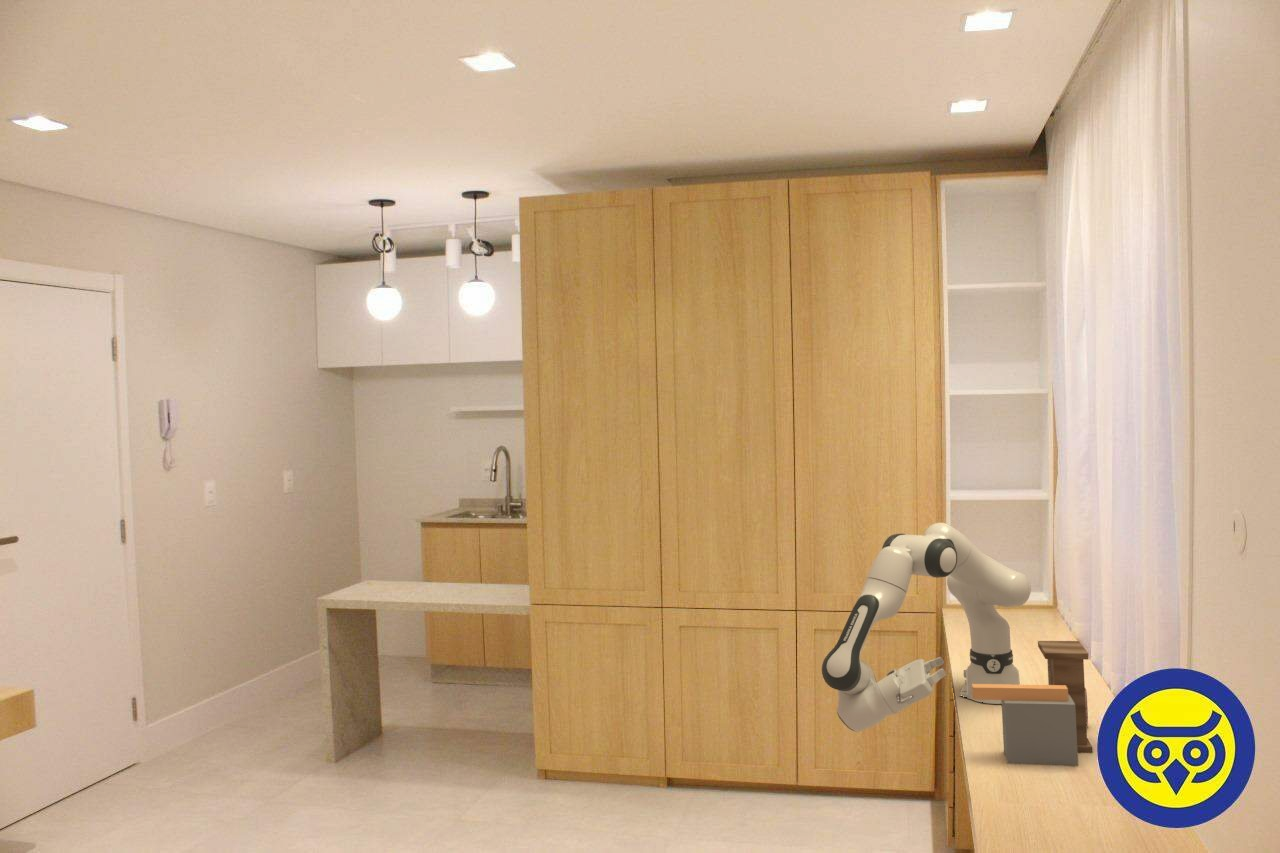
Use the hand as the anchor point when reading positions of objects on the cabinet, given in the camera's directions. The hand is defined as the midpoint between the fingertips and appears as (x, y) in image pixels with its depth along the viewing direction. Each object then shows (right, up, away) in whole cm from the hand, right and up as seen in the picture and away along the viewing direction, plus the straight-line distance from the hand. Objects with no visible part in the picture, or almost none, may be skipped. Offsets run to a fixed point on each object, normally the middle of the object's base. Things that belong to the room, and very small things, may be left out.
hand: (943, 665), depth 246 cm
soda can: (+39, -20, +14) cm, 47 cm away
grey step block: (+22, -22, -6) cm, 31 cm away
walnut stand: (+32, -21, +3) cm, 39 cm away
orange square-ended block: (+17, -7, -5) cm, 19 cm away
